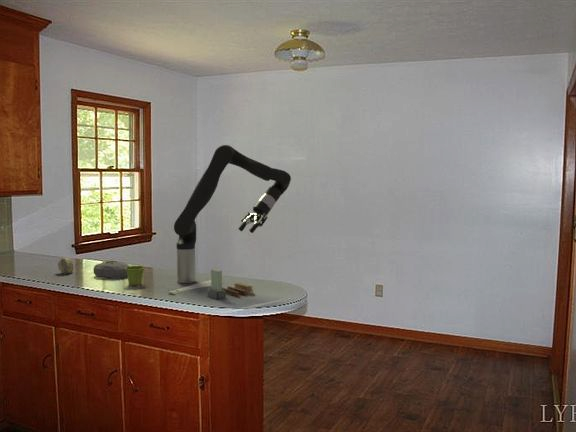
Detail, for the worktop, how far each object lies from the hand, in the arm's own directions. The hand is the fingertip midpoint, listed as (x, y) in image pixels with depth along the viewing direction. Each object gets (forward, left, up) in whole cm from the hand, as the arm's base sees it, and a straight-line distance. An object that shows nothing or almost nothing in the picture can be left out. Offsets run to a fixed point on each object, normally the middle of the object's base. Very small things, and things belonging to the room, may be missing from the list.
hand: (245, 231), depth 241 cm
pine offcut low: (+5, -3, -28) cm, 28 cm away
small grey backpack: (-60, -56, -29) cm, 87 cm away
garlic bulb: (-79, -80, -29) cm, 117 cm away
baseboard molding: (-13, -19, -29) cm, 37 cm away
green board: (+10, -17, -28) cm, 34 cm away
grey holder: (+10, -17, -29) cm, 35 cm away
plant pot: (-34, -47, -29) cm, 65 cm away
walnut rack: (+6, -6, -29) cm, 30 cm away
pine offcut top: (+6, -3, -26) cm, 27 cm away
